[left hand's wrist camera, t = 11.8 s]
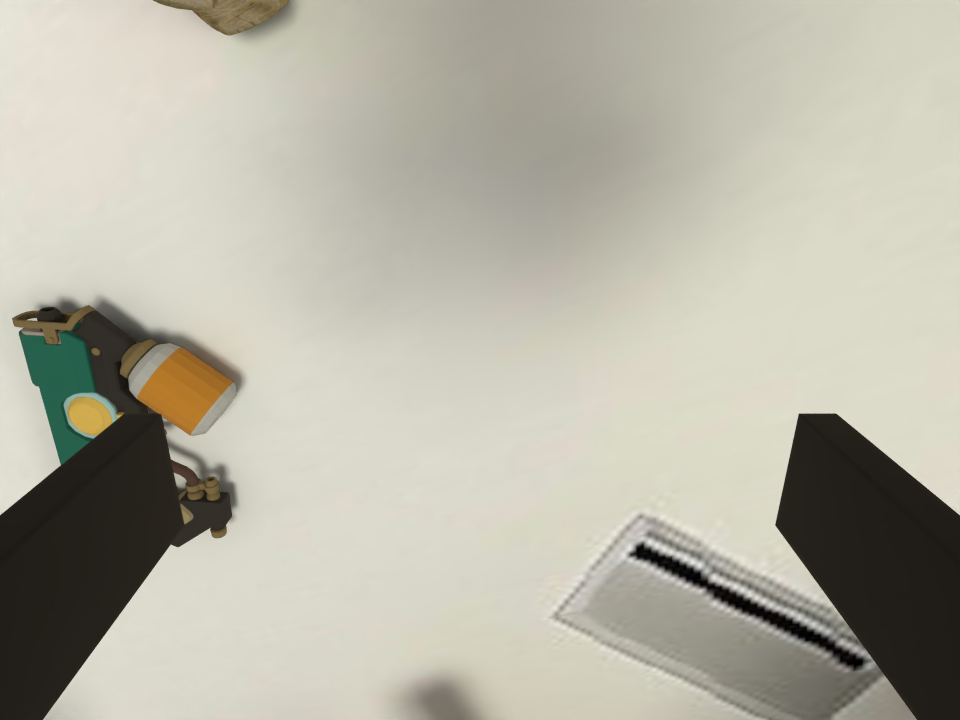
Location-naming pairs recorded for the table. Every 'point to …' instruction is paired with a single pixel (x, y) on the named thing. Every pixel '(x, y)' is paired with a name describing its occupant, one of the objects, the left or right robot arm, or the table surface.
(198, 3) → the sculpture
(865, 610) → the left robot arm
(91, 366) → the spray gun
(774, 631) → the table surface
